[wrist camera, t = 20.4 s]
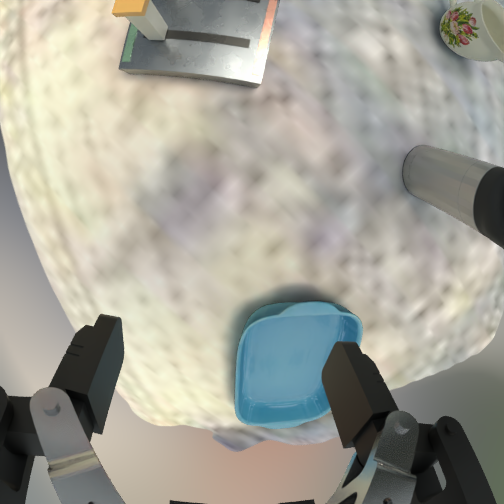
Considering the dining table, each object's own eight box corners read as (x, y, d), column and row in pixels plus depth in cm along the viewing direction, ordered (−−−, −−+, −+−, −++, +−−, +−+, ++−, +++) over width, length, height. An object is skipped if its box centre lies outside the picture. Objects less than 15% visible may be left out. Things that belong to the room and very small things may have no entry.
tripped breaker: (171, 24, 27) (149, -14, 16) (166, 43, 28) (141, 11, 17) (150, 23, 26) (120, -13, 15) (145, 42, 27) (111, 13, 16)
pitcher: (456, -5, 27) (502, -18, 15) (479, 77, 35) (531, 80, 23) (415, -15, 28) (462, -36, 15) (441, 74, 35) (498, 72, 23)
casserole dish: (322, 403, 66) (328, 425, 60) (232, 409, 64) (234, 433, 58) (360, 278, 51) (377, 300, 44) (235, 279, 49) (237, 304, 42)
